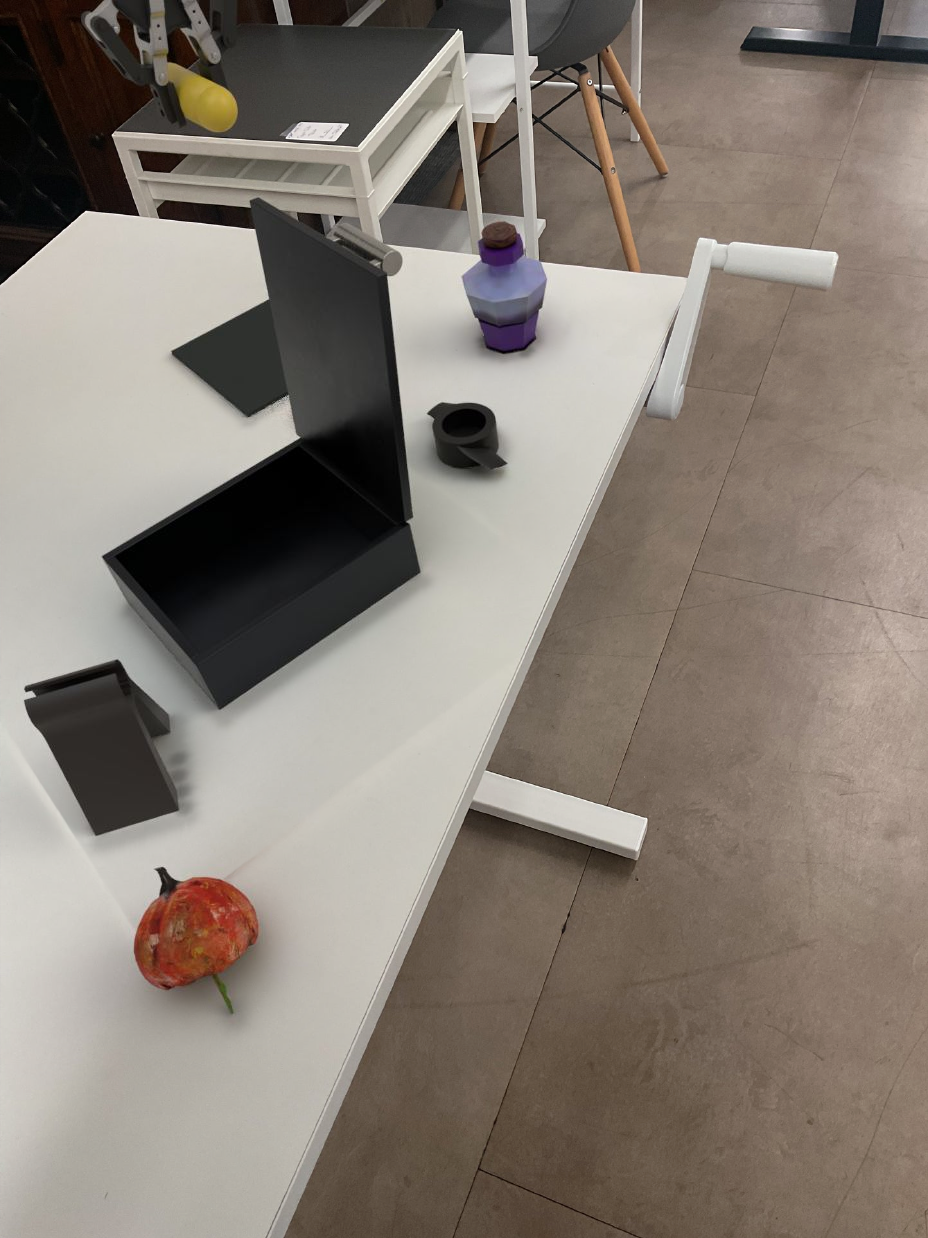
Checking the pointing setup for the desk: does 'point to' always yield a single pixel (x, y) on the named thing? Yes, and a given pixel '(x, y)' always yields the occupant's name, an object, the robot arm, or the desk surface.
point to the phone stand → (105, 744)
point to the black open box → (263, 568)
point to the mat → (240, 360)
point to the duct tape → (466, 435)
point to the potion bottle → (505, 289)
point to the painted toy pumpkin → (193, 932)
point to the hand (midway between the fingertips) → (198, 115)
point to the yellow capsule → (203, 100)
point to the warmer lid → (338, 347)
